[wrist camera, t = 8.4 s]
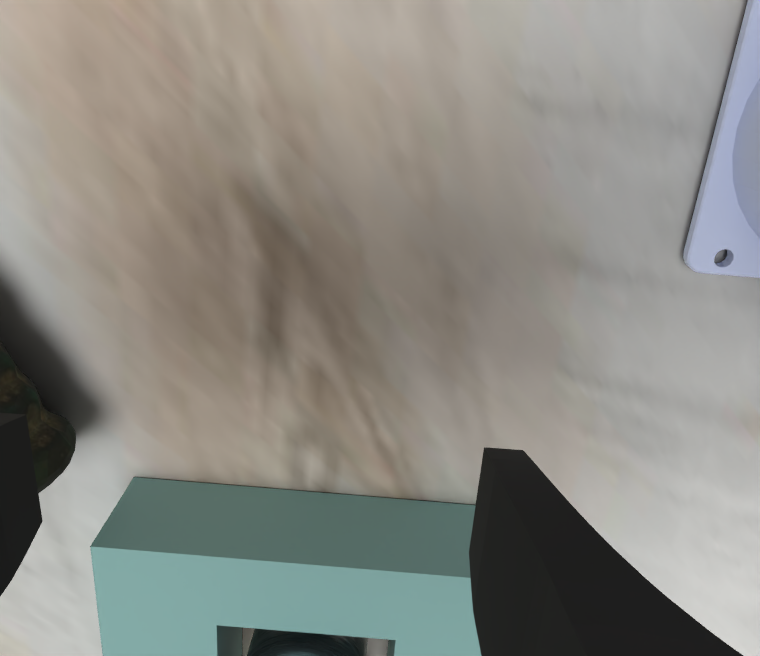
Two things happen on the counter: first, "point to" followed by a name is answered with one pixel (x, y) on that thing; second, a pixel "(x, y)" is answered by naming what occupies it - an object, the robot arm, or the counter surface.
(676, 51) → the counter surface
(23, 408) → the tool
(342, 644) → the pin
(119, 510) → the hole block
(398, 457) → the counter surface
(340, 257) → the counter surface
